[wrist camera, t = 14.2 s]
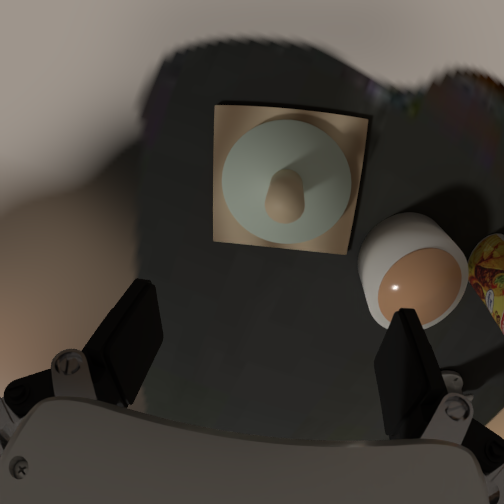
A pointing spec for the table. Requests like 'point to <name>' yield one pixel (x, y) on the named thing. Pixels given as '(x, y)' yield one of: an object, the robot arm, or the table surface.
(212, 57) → the table surface
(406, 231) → the bowl
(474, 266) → the canned food
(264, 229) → the lid
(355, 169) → the mat
